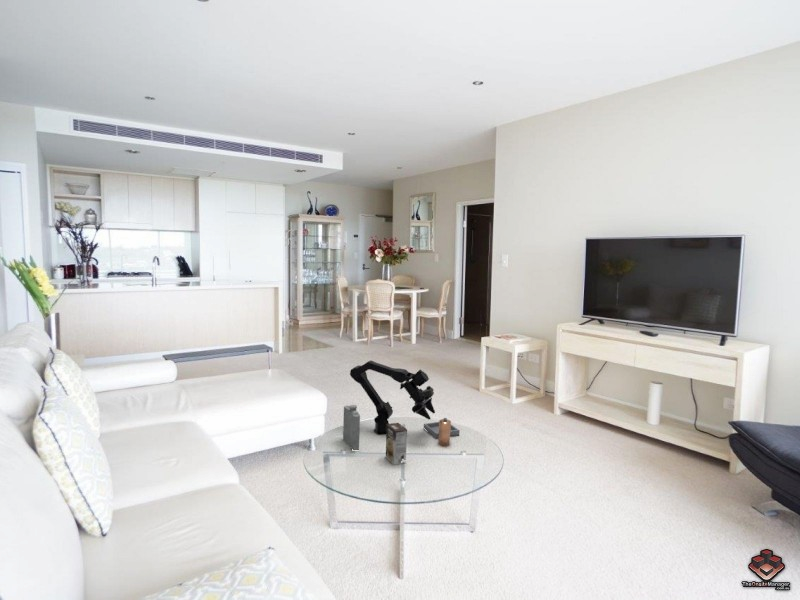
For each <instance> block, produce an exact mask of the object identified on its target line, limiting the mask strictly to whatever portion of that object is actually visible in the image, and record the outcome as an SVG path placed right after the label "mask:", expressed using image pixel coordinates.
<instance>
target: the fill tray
mask: <svg viewBox="0 0 800 600" xmlns="http://www.w3.org/2000/svg"><path fill="white" fill-rule="evenodd" d="M424 428H425V429H426V430H427V431H428V432H429V433H430V434H431V435H432V436H433V437H432V436H431V435H430V434H429V433H428V432H427V433H428V434H429V435H430V436H431V437H432V438H434V439H435V440H438V436H439V421H435V422H427V423H423V429H424ZM459 436H460V429H459V428H457V427H456V426H454V425H453V424H451V429H450V438H452V437H453V438H454V437H459Z"/></svg>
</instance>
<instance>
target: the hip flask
mask: <svg viewBox="0 0 800 600" xmlns="http://www.w3.org/2000/svg"><path fill="white" fill-rule="evenodd" d="M357 408H358V406H357V405H355V404H350V405H344V406H343V422H342V423H343V426H342V428H343V429H342V430H343V431H342V435H343V436H342V441H343V442H344V443H346V444H347V445H348V446H349V447H350V448H352V449H353V450H359V451H360V429H361V428H360V427H361V424H360V423H361V421H360V420H361V415H360V413H359V411H357ZM352 449H351V450H352Z"/></svg>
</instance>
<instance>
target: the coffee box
mask: <svg viewBox="0 0 800 600" xmlns="http://www.w3.org/2000/svg"><path fill="white" fill-rule="evenodd" d="M385 435H386V437H385V438H386V439H385V458H386V459H387V461H389V462H390V463H391V464H392V465H394V466H396V465H401V461H402V459H404V460H407V459H406V458H407V445H408V444H407V443H408V429H407V428H406V427H405V426H404V425H402V424H401V423H399V422H393V423H392V422H391V423H389V424H387V432H386V434H385Z"/></svg>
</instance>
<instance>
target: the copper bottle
mask: <svg viewBox="0 0 800 600" xmlns="http://www.w3.org/2000/svg"><path fill="white" fill-rule="evenodd" d="M438 422H439V436H438V439H437V440H438V441H437V445H438V446H440V447H443V448H445V447H449V446H450V445H451V444H450V443H451V437H450V429H451V425H452V421H451V420H450V419H448V418H447V417H444V418H442V419H440V420H439V421H438Z"/></svg>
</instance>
